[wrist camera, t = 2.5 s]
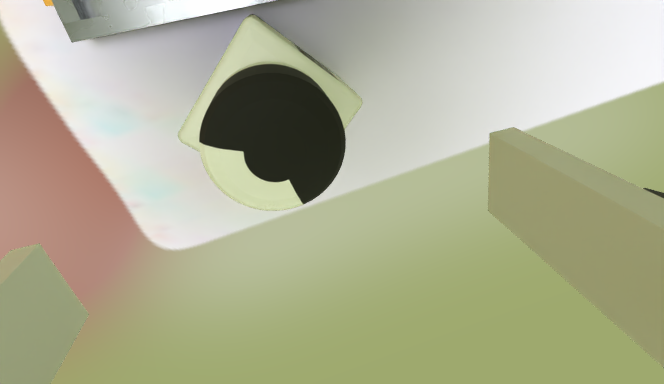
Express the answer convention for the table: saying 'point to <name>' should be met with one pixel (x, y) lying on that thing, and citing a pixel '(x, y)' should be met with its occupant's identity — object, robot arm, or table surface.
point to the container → (270, 121)
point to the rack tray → (133, 14)
